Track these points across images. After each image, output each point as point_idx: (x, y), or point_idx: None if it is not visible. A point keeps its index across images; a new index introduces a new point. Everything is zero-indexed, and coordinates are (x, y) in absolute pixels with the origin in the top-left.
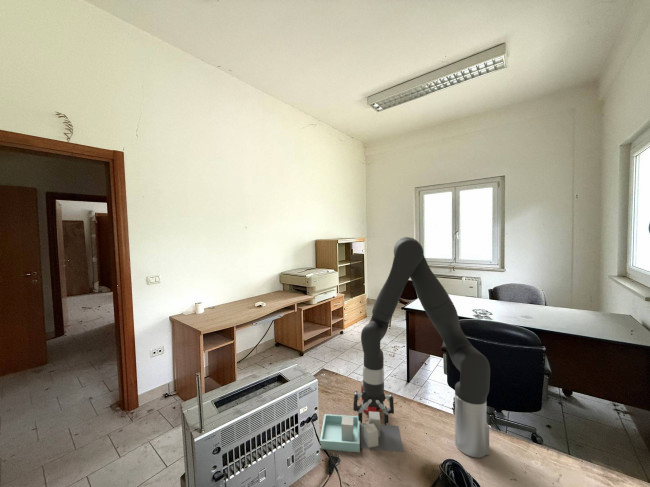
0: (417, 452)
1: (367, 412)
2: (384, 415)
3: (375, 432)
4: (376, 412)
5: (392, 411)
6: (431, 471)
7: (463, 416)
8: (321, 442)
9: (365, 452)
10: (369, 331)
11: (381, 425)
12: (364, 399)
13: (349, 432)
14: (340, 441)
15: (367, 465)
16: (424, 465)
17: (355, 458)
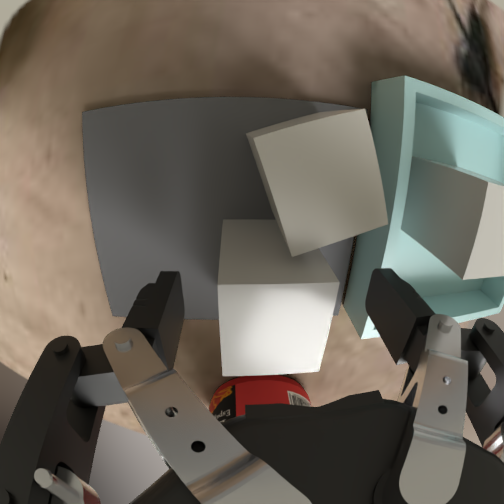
0: (26, 140)
1: (285, 382)
2: (165, 334)
3: (283, 128)
4: (248, 369)
5: (56, 356)
6: (4, 50)
7: None
8: None
9: (336, 86)
10: None
11: (209, 312)
12: (477, 456)
13: (464, 171)
14: (493, 117)
15: (327, 3)
16: (16, 68)
17: (392, 53)
